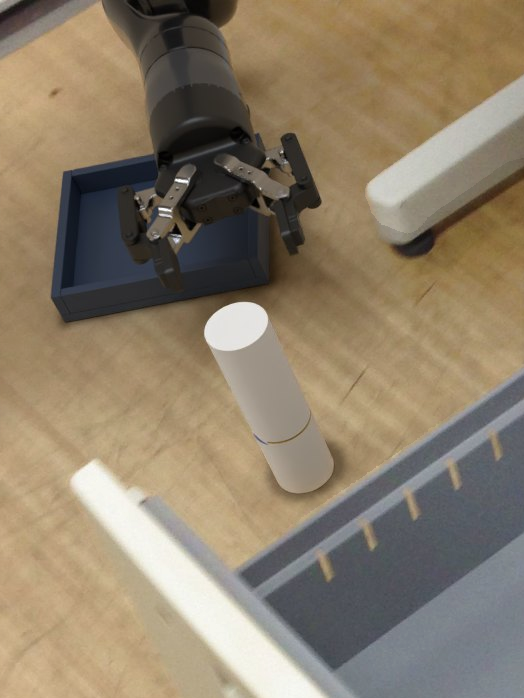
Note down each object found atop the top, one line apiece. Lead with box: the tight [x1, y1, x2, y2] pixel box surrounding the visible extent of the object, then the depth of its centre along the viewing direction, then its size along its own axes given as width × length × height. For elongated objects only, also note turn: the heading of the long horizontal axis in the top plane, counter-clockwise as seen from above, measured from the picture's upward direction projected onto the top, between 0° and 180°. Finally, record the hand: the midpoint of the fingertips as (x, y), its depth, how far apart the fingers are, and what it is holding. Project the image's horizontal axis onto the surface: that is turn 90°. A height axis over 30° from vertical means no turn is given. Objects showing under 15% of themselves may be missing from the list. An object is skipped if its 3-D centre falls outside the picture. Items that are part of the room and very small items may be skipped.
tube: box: [203, 301, 335, 494], centre depth 123 cm, size 4×4×15 cm
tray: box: [50, 132, 271, 323], centre depth 144 cm, size 17×15×3 cm
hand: (233, 265), depth 127 cm, fingers open, 8 cm apart
